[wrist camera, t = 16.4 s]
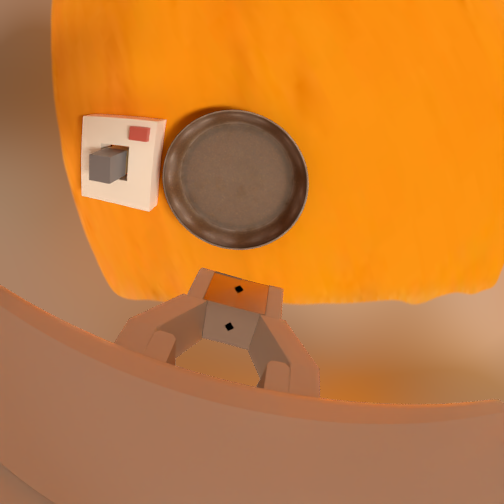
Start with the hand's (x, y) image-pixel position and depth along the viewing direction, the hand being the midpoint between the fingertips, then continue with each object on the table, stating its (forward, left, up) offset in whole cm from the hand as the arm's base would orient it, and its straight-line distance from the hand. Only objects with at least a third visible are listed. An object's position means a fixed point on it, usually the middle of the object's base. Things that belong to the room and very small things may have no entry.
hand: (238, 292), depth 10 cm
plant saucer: (+6, -5, -32) cm, 33 cm away
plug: (+6, -24, -31) cm, 40 cm away
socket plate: (+6, -24, -31) cm, 40 cm away
